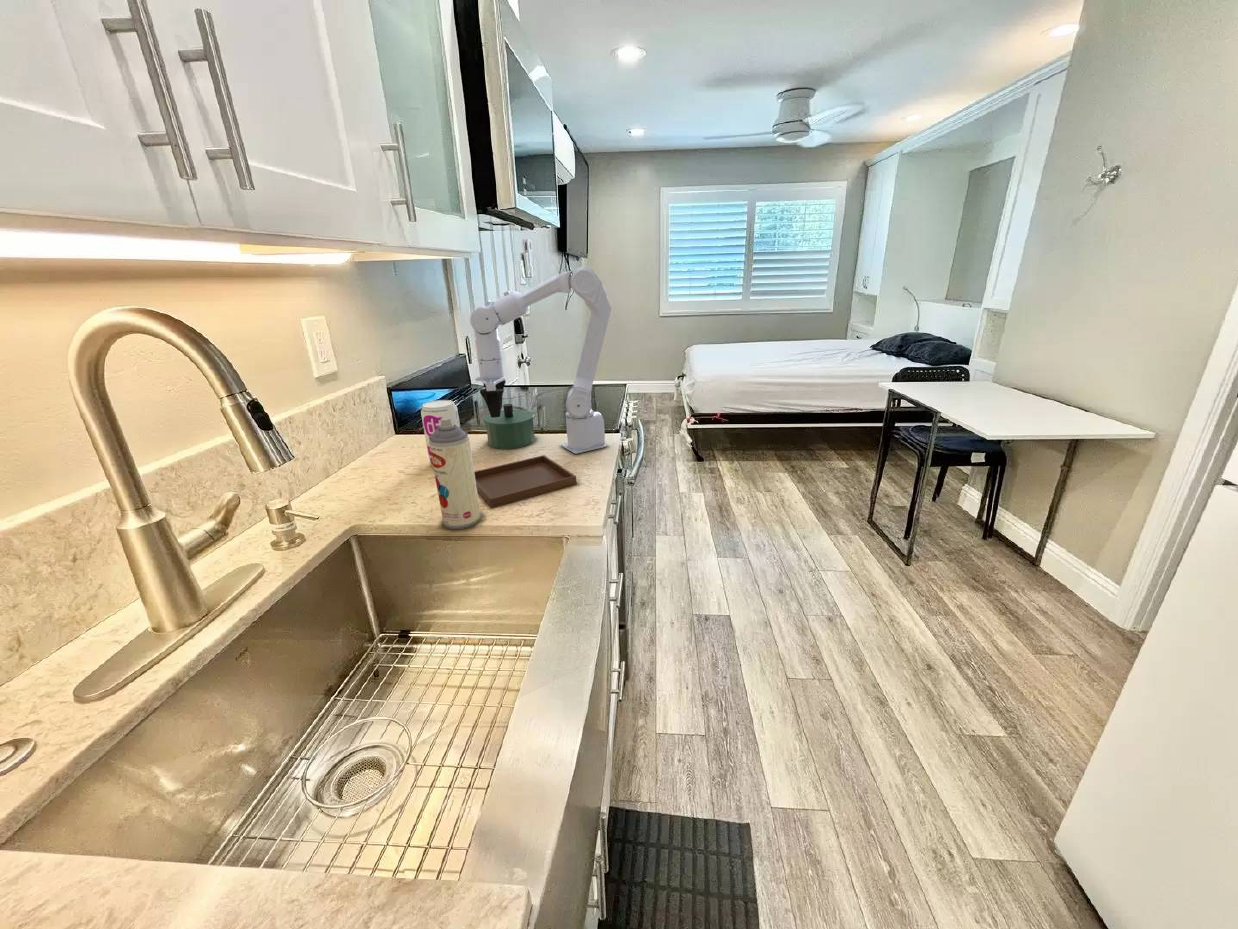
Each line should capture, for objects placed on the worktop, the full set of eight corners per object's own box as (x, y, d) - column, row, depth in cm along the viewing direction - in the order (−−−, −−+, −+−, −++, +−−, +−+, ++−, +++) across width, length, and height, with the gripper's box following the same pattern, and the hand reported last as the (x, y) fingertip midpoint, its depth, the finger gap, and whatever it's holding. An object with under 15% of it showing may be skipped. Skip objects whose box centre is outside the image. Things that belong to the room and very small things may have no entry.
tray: (544, 462, 119) (544, 454, 119) (576, 484, 107) (576, 476, 106) (466, 481, 110) (465, 473, 109) (491, 507, 97) (490, 499, 96)
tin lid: (523, 411, 141) (521, 396, 139) (542, 421, 131) (541, 405, 129) (477, 419, 134) (475, 403, 133) (494, 431, 124) (492, 414, 122)
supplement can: (455, 470, 116) (445, 408, 110) (423, 468, 118) (412, 407, 112) (471, 457, 123) (462, 399, 118) (441, 456, 125) (431, 399, 119)
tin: (524, 431, 143) (521, 409, 140) (542, 442, 133) (540, 419, 131) (482, 439, 136) (479, 417, 134) (498, 452, 127) (495, 428, 124)
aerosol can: (438, 519, 93) (419, 418, 86) (472, 508, 97) (457, 411, 89) (450, 533, 88) (432, 427, 81) (486, 521, 92) (472, 419, 84)
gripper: (475, 354, 125) (482, 406, 130) (469, 364, 112) (477, 422, 117) (504, 353, 126) (509, 404, 131) (501, 363, 113) (507, 419, 118)
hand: (496, 412), depth 124 cm, fingers open, 7 cm apart
